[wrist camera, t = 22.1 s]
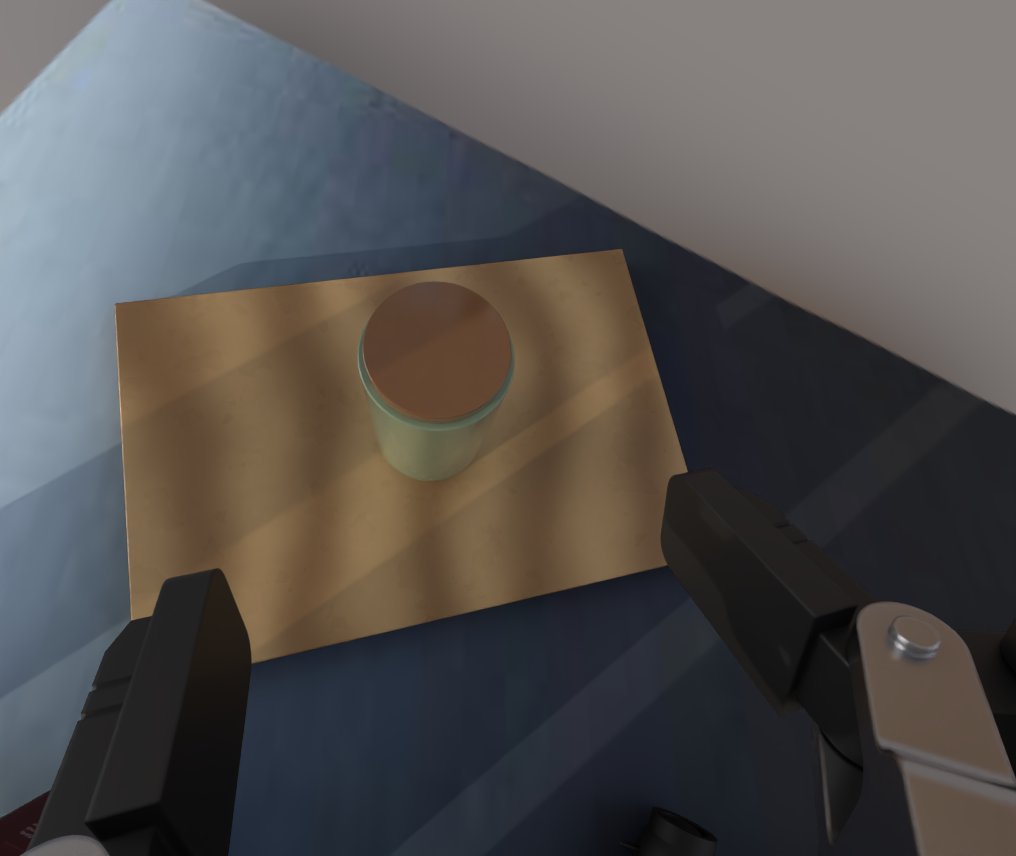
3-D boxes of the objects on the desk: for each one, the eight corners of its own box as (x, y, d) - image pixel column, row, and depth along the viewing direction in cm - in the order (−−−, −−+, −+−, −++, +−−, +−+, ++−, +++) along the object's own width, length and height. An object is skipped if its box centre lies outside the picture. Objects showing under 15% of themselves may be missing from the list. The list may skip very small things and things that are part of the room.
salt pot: (385, 490, 24) (368, 437, 16) (368, 386, 25) (343, 283, 17) (493, 470, 25) (533, 411, 17) (472, 371, 26) (500, 266, 18)
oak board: (148, 686, 22) (134, 691, 21) (127, 315, 26) (113, 302, 24) (700, 556, 27) (713, 554, 26) (614, 260, 31) (622, 248, 29)
